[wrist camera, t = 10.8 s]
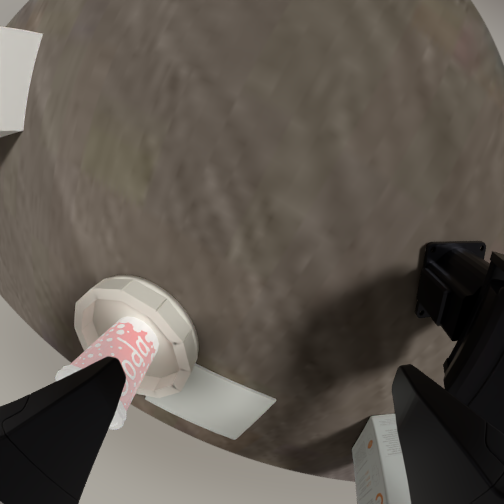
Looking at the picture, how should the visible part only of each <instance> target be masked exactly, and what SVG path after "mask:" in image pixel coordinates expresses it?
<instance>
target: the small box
mask: <svg viewBox="0 0 504 504" xmlns="http://www.w3.org/2000/svg"><path fill="white" fill-rule="evenodd" d="M352 455H353V464H354V472H355V482H356V494H357V504H411V500H410V493H409V487H408V481H407V475H406V470H405V465H404V460H403V455H402V450H401V446H400V441H399V437H398V432H397V425H396V417H395V414H386V415H375V416H371V417H370V418H369V420H368V422H367V424H366V426H365V428H364V429H363V431H362V433H361V434H360V436H359V438H358V440H357V441H356V443H355V445H354V446H353V448H352Z"/></svg>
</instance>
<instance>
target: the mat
mask: <svg viewBox="0 0 504 504" xmlns="http://www.w3.org/2000/svg"><path fill="white" fill-rule="evenodd" d="M145 399H146V400H147V401H149V402H151V403H153V404H155V405H157V406H159V407H161V408H162V409H164V410H166V411H168V412H170V413H172V414H174V415H177V416H179V417H181V418H183V419H185V420H187V421H189V422H192V423H194V424H196V425H198V426H201V427H203V428H205V429H208V430H210V431H213V432H215V433H218V434H220V435H223V436H225V437H228V438H231V439H234V440H235V439H237V438H238V437H239V436H240V435H241V434H242V433H243V432H244V431H245V430H247V429H248V428H249V427H250V426H251V425H252V424H253V423H254V422H255V421H256V420H257V419H258V418H259V417H260V416H262V415H263V414H264V413H265V412H266V411H267V410H268V409H269V408H270V407H271V406H272V405H273V404H274V403H275V402H276V399H275V398H273V397H270V396H267V395H265V394H262V393H260V392H257V391H255V390H253V389H250V388H248V387H245V386H243V385H241V384H238V383H236V382H234V381H232V380H229V379H227V378H225V377H223V376H221V375H219V374H216V373H214V372H212V371H210V370H208V369H206V368H204V367H202V366H200V365H198V364H196V363H195V365H194V367H193V369H192V372H191V374H190V376H189V377H188V379H187V381H186V383H185V385H184V387H183V389H182V391H181V392H179V393H175V394H172V395H168V396H165V397H161V398H155V397H150V396H146V397H145Z"/></svg>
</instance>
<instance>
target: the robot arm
mask: <svg viewBox="0 0 504 504" xmlns="http://www.w3.org/2000/svg"><path fill="white" fill-rule="evenodd" d="M432 247H434V249H433V250H432V251H431V248H432ZM480 247H481V249H480ZM485 250H486V245H485V243H483V242H482V241H455V242H430V243H428V244H427V246H426V251H425V259H424V266H423V269H422V271H421V277H420V283H419V288H418V294H417V300H418V301H417V306H416V310H415V314H416V315H417V317H418V318H425V317H431V318H432V319H433V321H434V322H435V323H436V325H437V326H441V327H442V328H443V329H444V331H445V332H446V333H447V335H448V336H449V338H450V339H451V340H452V341H457V343H456V345H455V347H454V349H453V351H452V353H451V354H450V356H449V358H447V359H446V361H445V362H444V364H443V366H444V373H445V376H444V387H445V389H444V388H442V387H441V386H440V385H438V384H437V383H436V382H434V381H433V380H432V379H430V378H429V377H428V376H426V375H425V374H424V373H422V372H421V371H420V370H419V369H417V368H416V367H415V366H413V365H411V364H408V365H402V366H399V367H398V369H397V372H396V375H395V378H394V381H393V384H392V395H393V402H394V409H395V417H396V425H397V432H398V437H399V441H400V446H401V450H402V455H403V460H404V465H405V470H406V475H407V481H408V487H409V493H410V500H411V504H504V255H503V254H500V253H497V252H493V251H492V254H491V257H490V260H491V262H490V264H489V263H488V262H486V261H485V260H484V256H485ZM422 310H423V311H422ZM420 311H422V312H421V313H420ZM125 382H126V374H125V372H124V370H123V367H122V365H121V363H120V361H119V359H118V358H115V357H110V356H107V357H105V358H103V359H101V360H99V361H97V362H95V363H93V364H91V365H89V366H87V367H85V368H83V369H81V370H79V371H77V372H75V373H73V374H71V375H69V376H67V377H65V378H62V379H60V380H58V381H56V382H54V383H52V384H50V385H48V386H46V387H44V388H42V389H40V390H38V391H36V392H33V393H31V394H30V395H27V396H25V397H23V398H20V399H18V400H16V401H14V402H11V403H9V404H6V405H3V406H0V504H78V503H79V500H80V497H81V495H82V492H83V489H84V487H85V484H86V482H87V479H88V476H89V474H90V471H91V469H92V466H93V464H94V461H95V459H96V457H97V454H98V452H99V449H100V447H101V445H102V443H103V440H104V438H105V436H106V433H107V431H108V429H109V426H110V424H111V422H112V420H113V417H114V415H115V412H116V409H117V406H118V403H119V400H120V397H121V394H122V391H123V388H124V385H125Z"/></svg>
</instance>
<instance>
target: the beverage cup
mask: <svg viewBox="0 0 504 504" xmlns="http://www.w3.org/2000/svg"><path fill="white" fill-rule="evenodd" d="M158 346H159V343H158V339H157V336H156V335H155V333H154V332H153V330H152V329H151V328H150V327H149V326H148V325H147V324H146V323H145V322H143V321H141V320H139V319H137V318H135V317H128V316H127V317H124V318H121V319H120V320H119V321H117V322H116V323H115V324H114V325H113V326H112V327H111V328H110V329H108V330H107V331H106V332H105V333H104V334H103V335H102V336H101V337H99V338H98V339H97V340H96V341H95V342H94V343H93V344H92V345H91V346H90V347H88V348H87V349H86V350H85V351H84V352H83V353H82V354H81V355H80V356H79V357H77V358H76V359H75V360H74V361H73V362H72V363H71V364H70V365H66V366H63V368H62V369H60V370H59V371H58V372H57V374H56V376H55V379H56V381H58V380H60V379H62V378H65V377H67V376H69V375H71V374H73V373H75V372H77V371H79V370H81V369H83V368H85V367H87V366H89V365H91V364H93V363H95V362H97V361H99V360H101V359H103V358H105V357H107V356H110V357H115V358H118V359H119V361H120V363H121V365H122V367H123V370H124V372H125V374H126V382H125V385H124V388H123V391H122V394H121V397H120V400H119V403H118V406H117V409H116V412H115V415H114V417H113V420H112V422H111V424H110V426H109V429H115V430H118V429H119V428H121V427H122V426H123V425H124V421H125V420H126V411H127V409H128V407H129V405H130V403H131V401H132V399H133V397H134V395H135V393H136V391H137V389H138V387H139V385H140V383H141V381H142V380H143V378H144V376H145V374H146V372H147V370H148V368H149V366H150V364H151V362H152V360H153V358H154V357H155V355H156V353H157V351H158Z"/></svg>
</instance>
